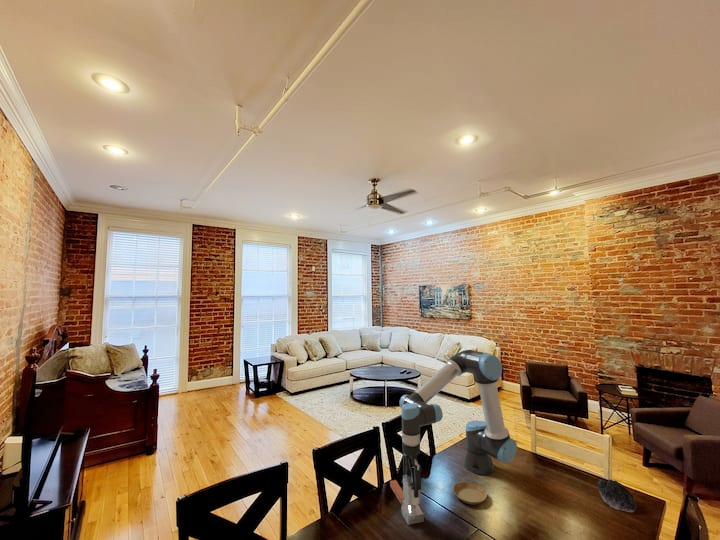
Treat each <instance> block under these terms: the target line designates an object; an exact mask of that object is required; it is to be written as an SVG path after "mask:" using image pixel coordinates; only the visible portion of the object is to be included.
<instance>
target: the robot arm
mask: <svg viewBox="0 0 720 540" xmlns="http://www.w3.org/2000/svg"><path fill="white" fill-rule="evenodd" d="M502 366H503V365H502V362H501V361H500V359H499V358H498V357H497V356H496V355H494V354H491V353H488V352H482V351H478V350H472V349H465V350H461V351H459V352H458V353H456V354H454V355H452V356H451V357H450V358H449V359H448V360H446V364H445V365H444V366H442V368H440V369H439V370H438V371H437V372H436V373H434V374H433V375H432V376H430V378H428V379H427V380H426V381H425V382H424V383H423V384H421V385H420V386H419V387H418V388H417V389H416V390H415V391H413V393H411V394H403V395H402V396H401V397H400V399H399V407H400V409H401V436H400V437H401V438H402V439H401V440H402V442H401V447H402V449H401V450H402V451H401V452H402V473H403V475H409V474H411V477H412V485H413V487H412V488H411V489H412V505H419V504H420V503H419V490H421V491H422V474H421V473H422V464H419V463H418V462H419V460H418V455H420V454H421V427H423V426H427V425H428V426H429V425H433V424H436V423H438V422H441V421H442V419H443V414H444V413H443V409H442V408H441V406H440V405H439V404H438V403H431V404H428V403H429V401H431V400H432V399H433V398H434V397H435V396H436V395H437V394H438V393H440V392H441V391H442V390H443V389H444V388H445V387H446V386H447V385H449V384H450V383H451V382H452V381H453V380H455V378H457V377H461V376H462V375H463V374H466V373H468V374H471V375H472V376H473V377H472V378H473V381H474V383H475V384H477V386H478V391H479V395H480V401H481V406H482V411H483V416H484V421H483V420H470V421H468V422H467V423H466V424H465V444H466V450H465V454H464V458H463V467H464V468H465V470H467V471H469V472H470V473H473V474H476V475H486V476H487V475H490V474H492V473H493V472H494V461H493V460H492V457H493V458H494V459H496V460H498V461H499V462H503V463H506V464H507V463H510V462H511V461H513V460H514V459H515V456H516V454H517V453H518V451H517V450H518V444H517V442H516V440H514V439H513V438H511V436H510V435H511V434H510V431H509V429H508V428H507V427H505V422H504V417H503V412H502V406H501V401H500V395H499V391H498V386H497V383H498V382H499V379H500V378H501V377H502V376H501V375H502V372H503V367H502Z"/></svg>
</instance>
